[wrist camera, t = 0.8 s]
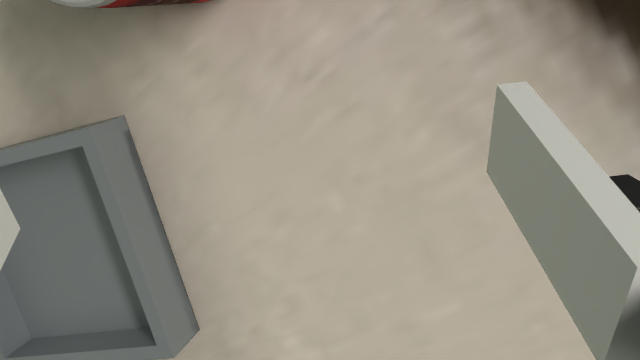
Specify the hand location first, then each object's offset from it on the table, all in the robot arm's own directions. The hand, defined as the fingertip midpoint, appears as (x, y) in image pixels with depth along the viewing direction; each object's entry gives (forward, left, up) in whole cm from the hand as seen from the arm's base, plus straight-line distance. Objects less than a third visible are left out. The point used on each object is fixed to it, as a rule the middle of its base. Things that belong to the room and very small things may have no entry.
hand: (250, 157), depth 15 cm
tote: (+7, -26, -19) cm, 32 cm away
